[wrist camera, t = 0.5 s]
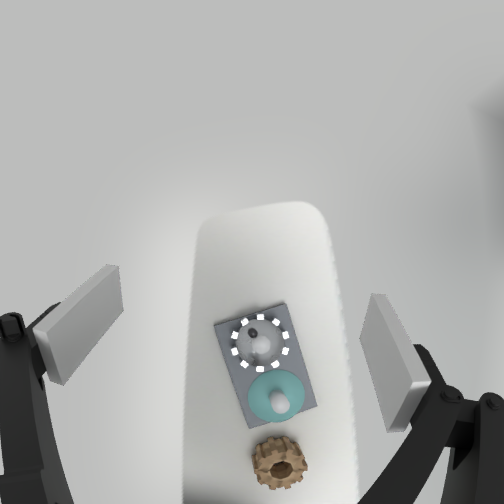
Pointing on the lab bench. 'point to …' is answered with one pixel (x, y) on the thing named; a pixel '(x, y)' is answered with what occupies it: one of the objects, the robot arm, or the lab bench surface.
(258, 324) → the gear
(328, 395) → the lab bench surface
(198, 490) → the lab bench surface
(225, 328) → the gear board
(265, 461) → the oak gear
